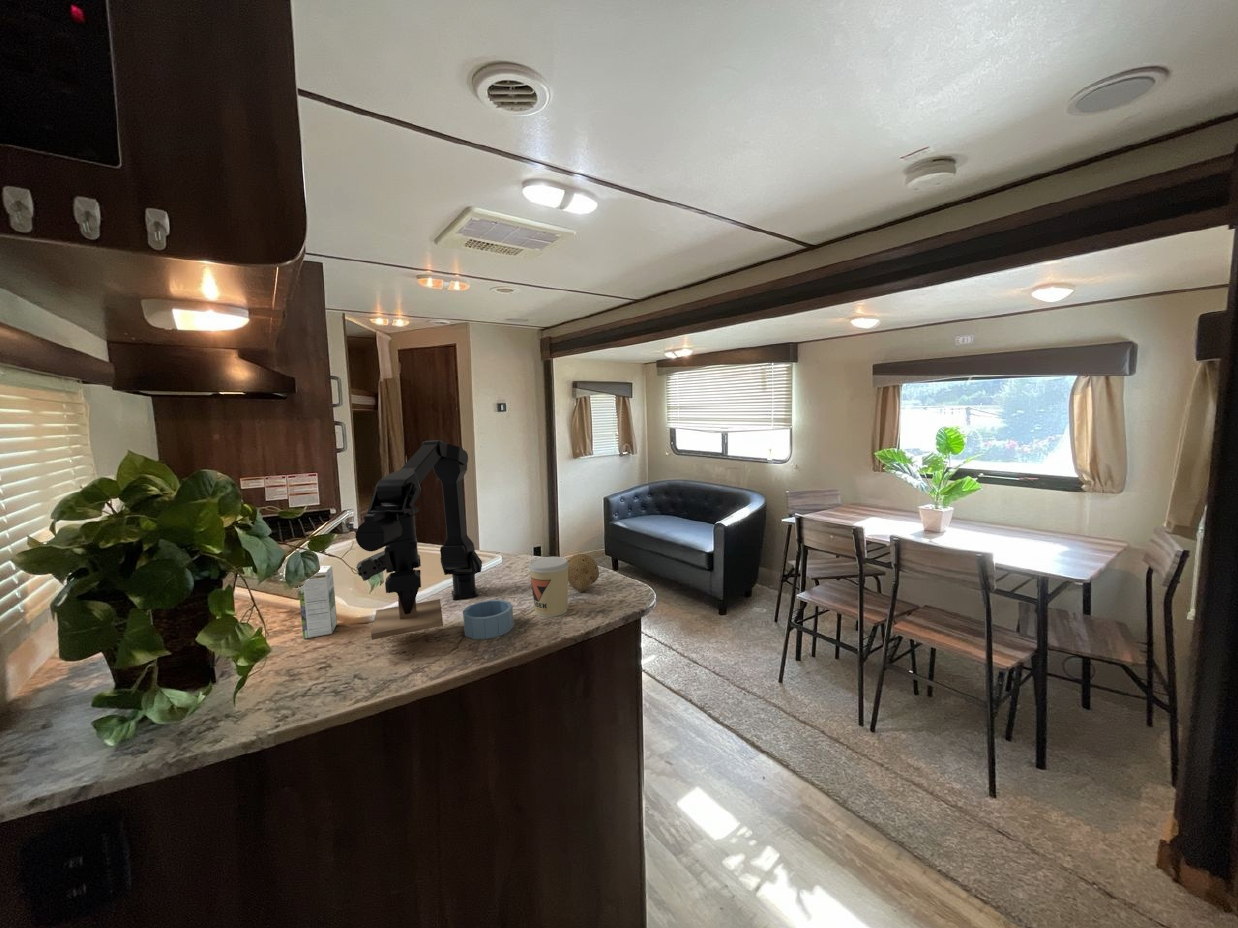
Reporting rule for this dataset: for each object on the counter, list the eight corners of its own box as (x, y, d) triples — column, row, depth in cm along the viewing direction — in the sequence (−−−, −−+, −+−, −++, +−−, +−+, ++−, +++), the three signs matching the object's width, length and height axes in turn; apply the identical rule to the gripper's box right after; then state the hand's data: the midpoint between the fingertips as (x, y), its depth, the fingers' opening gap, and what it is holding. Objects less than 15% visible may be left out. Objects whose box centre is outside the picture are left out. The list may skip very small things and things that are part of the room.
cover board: (377, 615, 104) (374, 592, 104) (440, 604, 109) (438, 581, 109) (371, 639, 92) (369, 613, 92) (443, 625, 97) (441, 601, 97)
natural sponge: (585, 582, 134) (583, 547, 133) (607, 589, 127) (605, 553, 126) (559, 591, 128) (557, 554, 127) (580, 599, 121) (578, 561, 120)
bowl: (462, 624, 109) (461, 605, 109) (508, 615, 113) (507, 596, 113) (467, 643, 100) (465, 622, 99) (517, 632, 104) (515, 612, 103)
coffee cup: (524, 611, 115) (521, 562, 114) (556, 600, 121) (553, 553, 120) (545, 622, 108) (542, 570, 107) (578, 609, 114) (576, 561, 113)
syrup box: (309, 629, 110) (302, 568, 109) (338, 624, 112) (332, 564, 111) (302, 639, 105) (295, 575, 104) (333, 634, 107) (326, 571, 106)
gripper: (362, 533, 105) (369, 602, 106) (351, 554, 87) (359, 636, 89) (417, 527, 109) (423, 593, 110) (417, 546, 92) (424, 624, 93)
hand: (407, 610), depth 101 cm, fingers closed on cover board, 3 cm apart
